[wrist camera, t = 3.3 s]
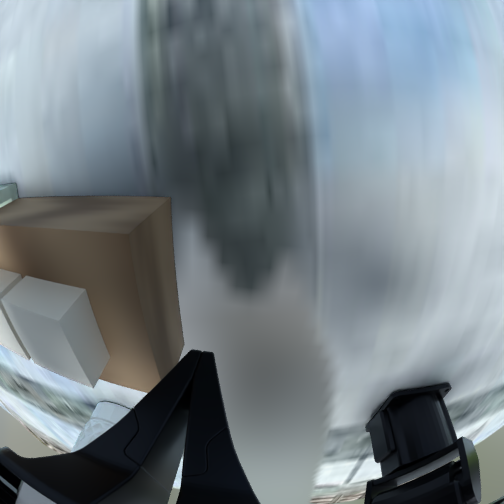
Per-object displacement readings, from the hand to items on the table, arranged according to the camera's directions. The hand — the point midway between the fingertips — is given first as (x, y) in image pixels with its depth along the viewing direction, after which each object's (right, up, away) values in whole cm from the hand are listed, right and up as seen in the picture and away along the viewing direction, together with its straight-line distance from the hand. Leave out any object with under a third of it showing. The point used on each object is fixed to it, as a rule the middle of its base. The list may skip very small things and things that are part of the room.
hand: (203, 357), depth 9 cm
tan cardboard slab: (-8, +3, +4) cm, 9 cm away
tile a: (-7, +1, +1) cm, 7 cm away
